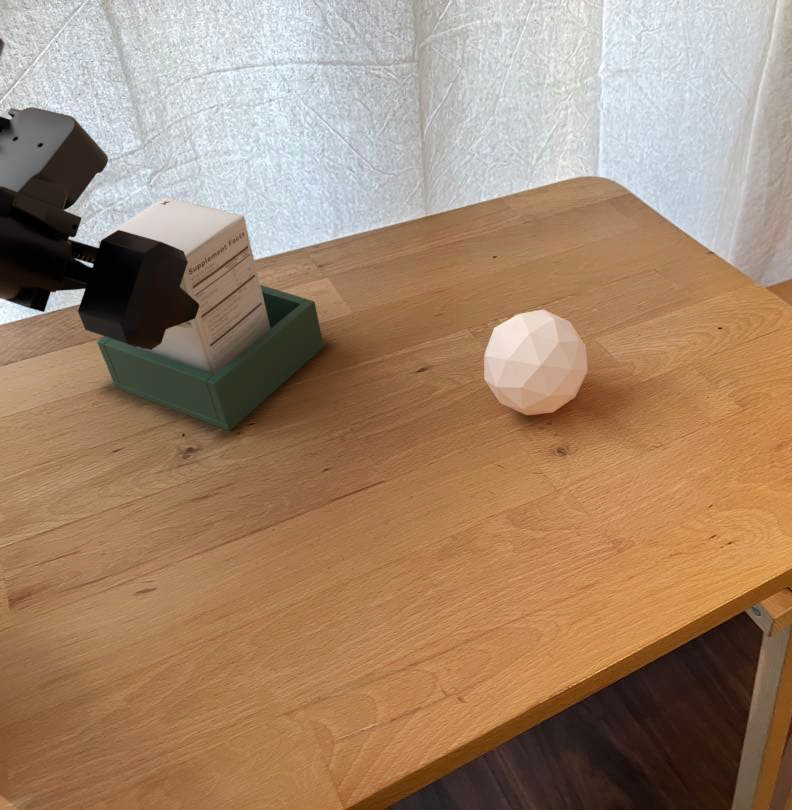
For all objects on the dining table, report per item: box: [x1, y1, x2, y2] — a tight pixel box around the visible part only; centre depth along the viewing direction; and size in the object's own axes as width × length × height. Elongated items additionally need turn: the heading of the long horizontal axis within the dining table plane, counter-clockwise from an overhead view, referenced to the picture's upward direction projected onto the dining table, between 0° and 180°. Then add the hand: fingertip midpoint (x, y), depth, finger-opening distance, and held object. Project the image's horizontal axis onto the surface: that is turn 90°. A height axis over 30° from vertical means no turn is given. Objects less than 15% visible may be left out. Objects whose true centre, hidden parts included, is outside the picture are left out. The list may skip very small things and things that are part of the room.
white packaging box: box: [97, 196, 271, 375], centre depth 67 cm, size 7×7×13 cm
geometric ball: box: [483, 309, 589, 416], centre depth 66 cm, size 8×8×8 cm
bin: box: [96, 284, 325, 432], centre depth 70 cm, size 12×12×5 cm
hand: (144, 295), depth 62 cm, fingers open, 9 cm apart
